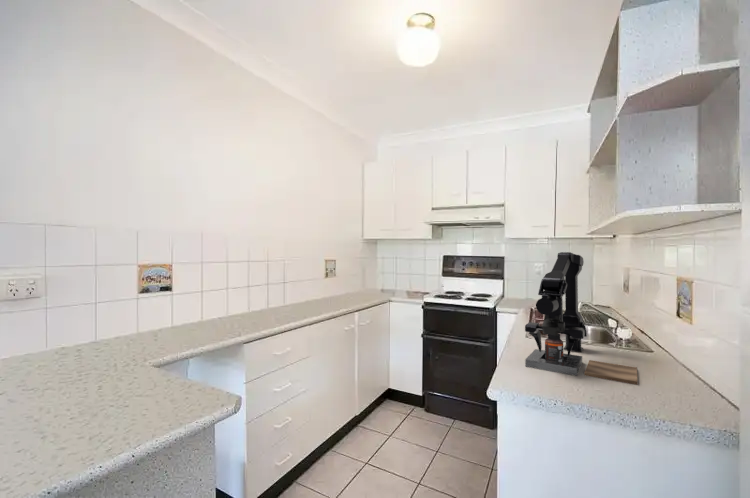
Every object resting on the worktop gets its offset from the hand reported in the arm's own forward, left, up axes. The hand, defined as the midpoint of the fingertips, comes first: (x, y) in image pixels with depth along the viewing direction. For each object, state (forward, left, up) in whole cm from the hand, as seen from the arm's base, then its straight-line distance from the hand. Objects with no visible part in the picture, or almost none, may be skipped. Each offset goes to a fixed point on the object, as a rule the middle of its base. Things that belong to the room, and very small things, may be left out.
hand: (554, 353), depth 124 cm
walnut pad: (-2, +17, -4) cm, 18 cm away
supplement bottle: (0, 0, -4) cm, 4 cm away
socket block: (0, 0, -4) cm, 4 cm away
